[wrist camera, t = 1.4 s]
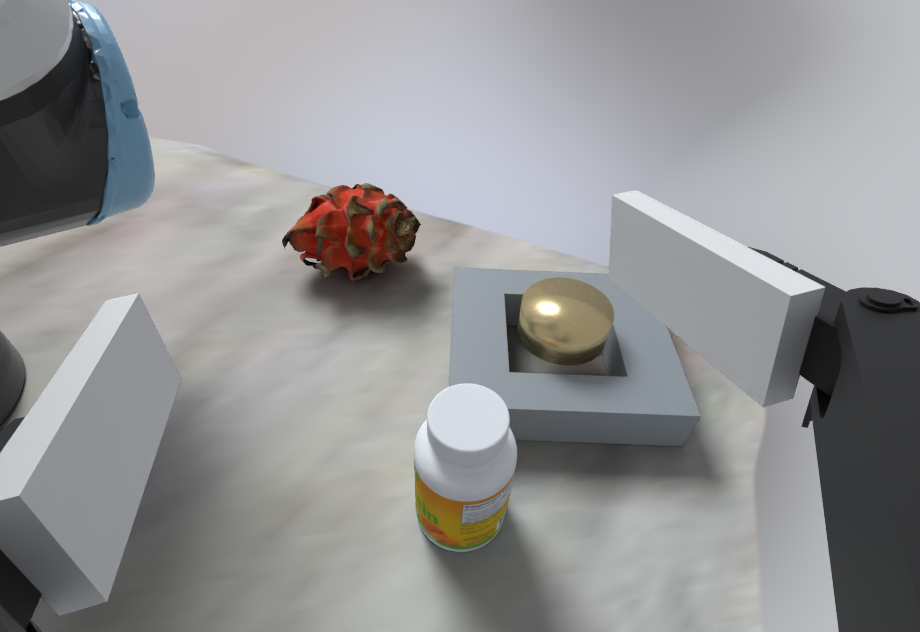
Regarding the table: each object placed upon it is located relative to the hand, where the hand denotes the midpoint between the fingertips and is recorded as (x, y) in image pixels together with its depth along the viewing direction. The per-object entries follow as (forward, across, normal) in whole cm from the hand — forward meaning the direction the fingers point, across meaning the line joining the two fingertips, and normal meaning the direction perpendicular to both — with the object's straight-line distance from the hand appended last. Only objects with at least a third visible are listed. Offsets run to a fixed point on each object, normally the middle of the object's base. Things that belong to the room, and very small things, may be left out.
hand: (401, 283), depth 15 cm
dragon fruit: (+32, -1, -14) cm, 35 cm away
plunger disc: (+16, +12, -15) cm, 25 cm away
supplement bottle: (+8, +2, -20) cm, 21 cm away
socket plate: (+17, +12, -18) cm, 27 cm away
